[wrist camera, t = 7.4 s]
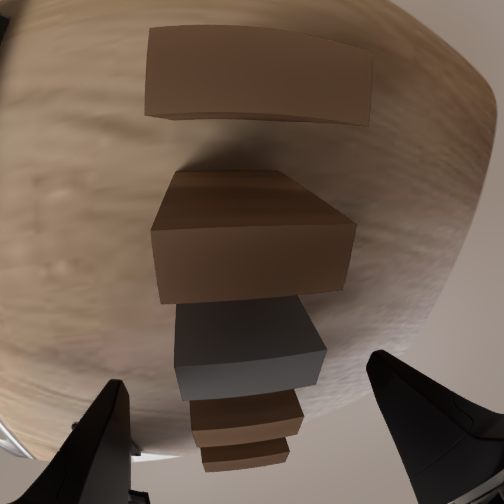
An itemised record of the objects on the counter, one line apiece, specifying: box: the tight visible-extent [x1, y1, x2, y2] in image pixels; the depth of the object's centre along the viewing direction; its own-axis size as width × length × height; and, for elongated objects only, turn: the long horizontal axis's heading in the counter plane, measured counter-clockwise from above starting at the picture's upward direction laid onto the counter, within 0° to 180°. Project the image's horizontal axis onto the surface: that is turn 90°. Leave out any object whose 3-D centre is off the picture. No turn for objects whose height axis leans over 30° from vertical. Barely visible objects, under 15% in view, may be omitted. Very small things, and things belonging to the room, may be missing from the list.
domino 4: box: [190, 389, 304, 447], centre depth 14 cm, size 2×5×8 cm, turn 88°
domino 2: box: [151, 170, 357, 304], centre depth 10 cm, size 2×5×8 cm, turn 88°
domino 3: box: [174, 295, 327, 401], centre depth 12 cm, size 2×5×8 cm, turn 88°
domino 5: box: [200, 437, 290, 472], centre depth 16 cm, size 2×5×8 cm, turn 88°
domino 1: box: [145, 25, 372, 127], centre depth 8 cm, size 2×5×8 cm, turn 88°
